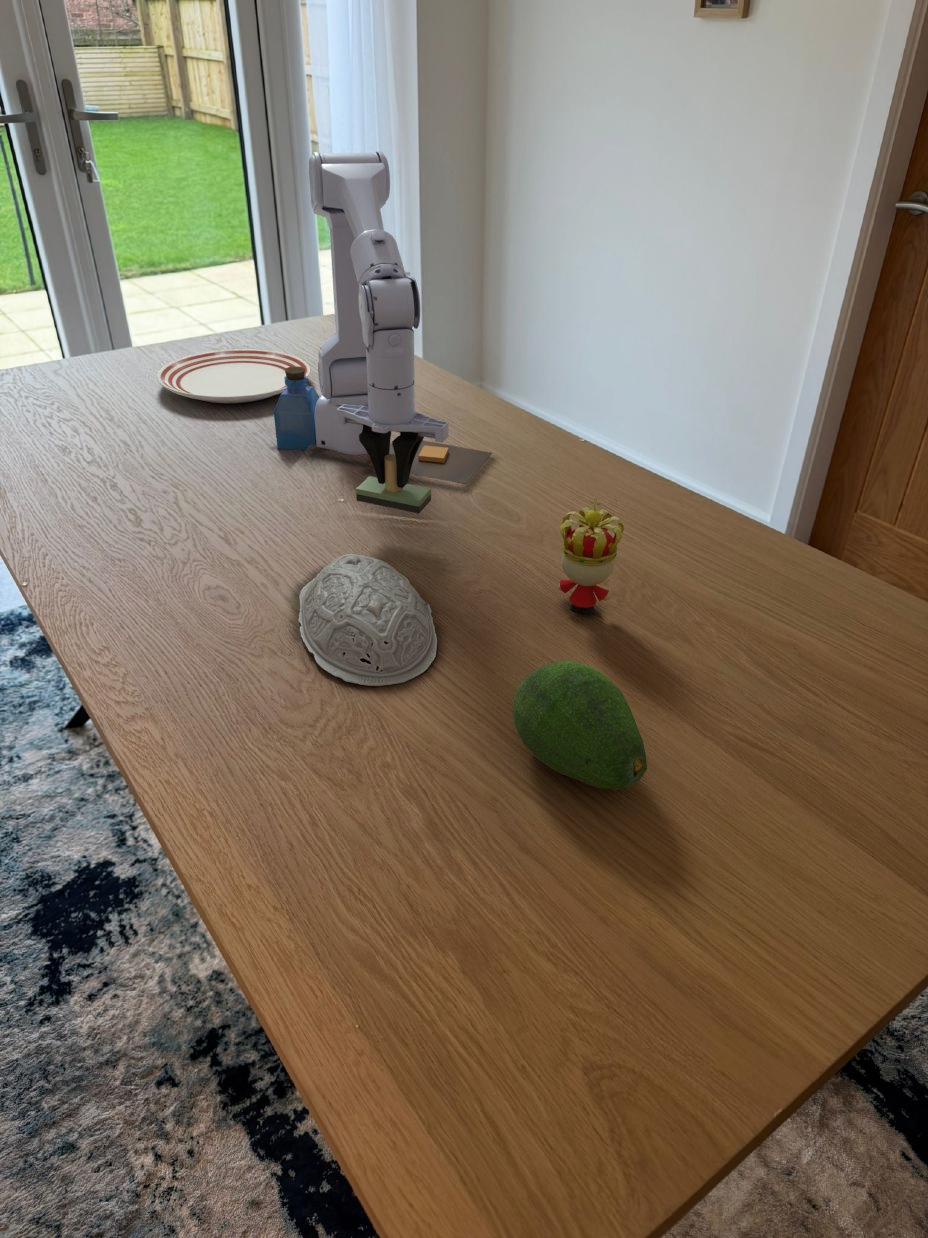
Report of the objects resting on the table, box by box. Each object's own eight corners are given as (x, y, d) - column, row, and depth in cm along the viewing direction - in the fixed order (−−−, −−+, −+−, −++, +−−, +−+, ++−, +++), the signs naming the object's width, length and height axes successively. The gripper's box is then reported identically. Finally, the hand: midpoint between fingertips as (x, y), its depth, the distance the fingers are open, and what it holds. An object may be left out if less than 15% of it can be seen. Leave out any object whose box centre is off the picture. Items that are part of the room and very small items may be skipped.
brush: (356, 500, 118) (354, 457, 114) (369, 488, 121) (367, 445, 117) (419, 513, 115) (419, 469, 112) (431, 500, 118) (431, 457, 115)
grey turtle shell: (315, 692, 93) (317, 638, 89) (285, 578, 113) (286, 530, 110) (457, 681, 97) (464, 629, 94) (404, 574, 118) (408, 527, 114)
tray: (368, 472, 137) (367, 465, 137) (400, 442, 147) (399, 436, 146) (465, 491, 133) (465, 483, 132) (492, 459, 142) (492, 452, 141)
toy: (617, 600, 110) (633, 490, 101) (605, 632, 104) (621, 518, 95) (560, 589, 111) (571, 479, 103) (545, 620, 106) (556, 507, 97)
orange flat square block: (418, 460, 138) (418, 455, 138) (424, 449, 142) (424, 445, 141) (443, 462, 138) (443, 458, 137) (448, 452, 141) (448, 447, 141)
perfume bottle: (324, 435, 148) (319, 364, 142) (315, 450, 143) (309, 377, 136) (287, 432, 149) (280, 361, 142) (277, 448, 144) (269, 375, 137)
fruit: (666, 798, 83) (683, 716, 77) (576, 836, 79) (588, 753, 73) (573, 703, 93) (583, 625, 88) (491, 732, 89) (495, 653, 84)
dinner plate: (172, 362, 175) (169, 345, 173) (313, 360, 178) (312, 344, 176) (147, 416, 153) (143, 398, 151) (308, 413, 156) (307, 395, 154)
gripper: (322, 383, 108) (329, 485, 116) (433, 401, 104) (433, 506, 112) (348, 364, 113) (353, 463, 121) (455, 382, 109) (453, 482, 117)
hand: (393, 482), depth 117 cm, fingers closed on brush, 2 cm apart
